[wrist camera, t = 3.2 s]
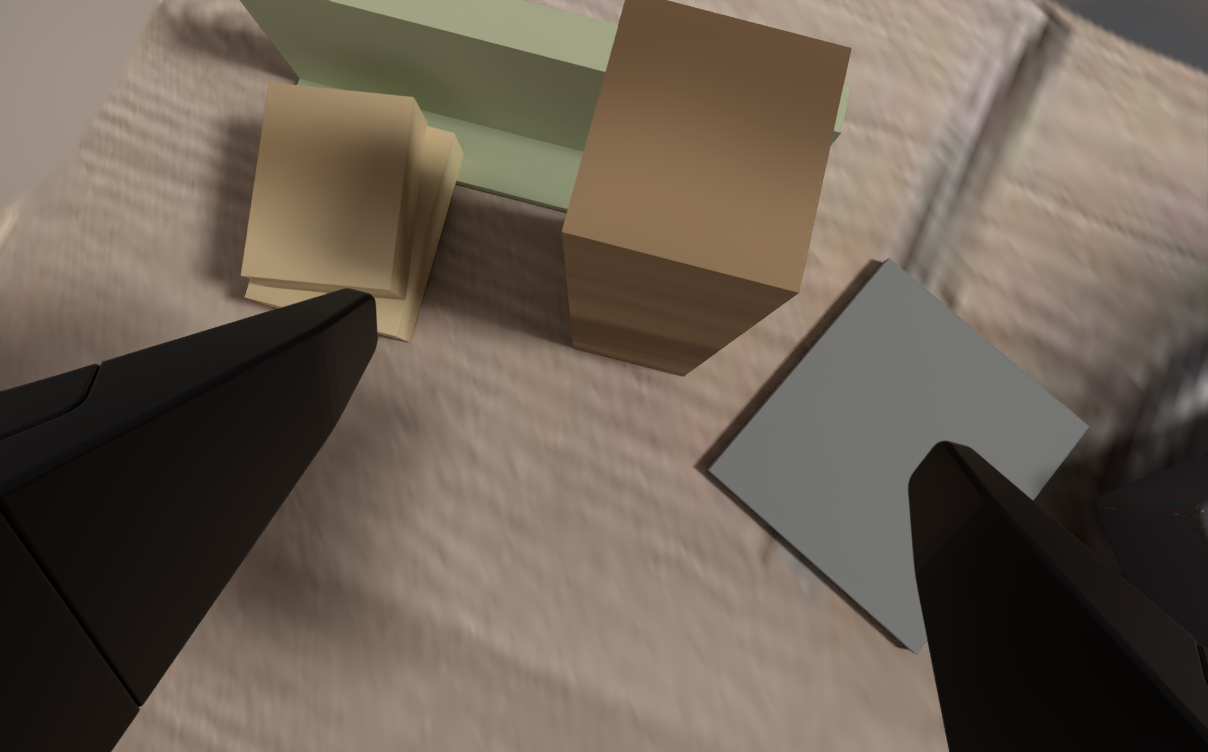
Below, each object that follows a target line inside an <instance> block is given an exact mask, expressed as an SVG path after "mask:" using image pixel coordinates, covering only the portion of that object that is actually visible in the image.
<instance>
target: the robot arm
mask: <svg viewBox="0 0 1208 752" xmlns="http://www.w3.org/2000/svg"><path fill="white" fill-rule="evenodd" d="M377 340H378V333H377V313H376V301H375V298H374V297H373V296H372V295H371V294H370V293H366V292H363V291H359V290H355V289H351V288H344V289H340V290H337V291H334V292H331V293H327V294H324V295H321V296H317V297H314V298H311V299H307V300H304V301H301V302H298V303H294V304H291V305H288V306H284V307H281V308H278V309H274V310H271V311H268V312H265V313H261V314H258V315H255V316H251V317H248V318H245V319H241V320H238V321H235V322H232V323H228V324H225V325H222V326H218V327H215V328H212V329H208V330H205V331H202V332H199V333H195V334H192V335H189V336H185V337H182V338H179V339H175V340H172V341H169V342H166V343H162V344H159V345H156V346H152V347H149V348H146V349H142V350H139V351H136V352H133V353H129V354H126V355H123V356H119V357H116V358H113V359H109V360H106V361H103V362H102V363H101V365H100V366H99V365H98V364H92V365H89V366H86V367H83V368H79V369H76V370H73V371H70V372H67V373H63V374H60V375H56V376H53V377H49V378H46V379H42V380H39V381H35V382H32V383H29V384H25V385H22V386H18V387H15V388H11V389H7V390H4V391H0V752H111V751H112V750H113V749H114V747H115V746H116V744H117V743H118V741H119V740H120V738H121V737H122V736H123V734H124V733H125V731H126V730H127V728H128V727H129V725H130V724H131V723H132V721H133V720H134V718H135V717H136V715H137V714H138V712H139V711H140V708H139V707H140V706H142V705H143V704H144V703H145V702H146V700H147V699H148V697H149V696H150V694H151V693H152V691H153V690H154V689H155V687H156V686H157V684H158V683H159V681H160V680H161V678H162V677H163V676H164V674H165V673H166V671H167V670H168V668H169V667H170V665H171V664H172V663H173V661H174V660H175V658H176V657H177V655H178V654H179V652H180V651H181V650H182V648H183V647H184V645H185V644H186V642H187V641H188V639H189V638H190V637H191V635H192V634H193V632H194V631H195V629H196V628H197V626H198V625H199V624H200V622H201V621H202V619H203V618H204V616H205V615H206V613H207V612H208V610H209V609H210V608H211V606H212V605H213V603H214V602H215V600H216V599H217V597H218V596H219V595H220V593H221V592H222V590H223V589H224V587H225V586H226V584H227V583H228V582H229V580H230V579H231V577H232V576H233V574H234V573H235V571H236V570H237V569H238V567H239V566H240V564H241V563H242V561H243V560H244V558H245V557H246V556H247V554H248V553H249V551H250V550H251V548H252V547H253V545H254V544H255V543H256V541H257V540H258V538H259V537H260V535H261V534H262V532H263V531H264V530H265V528H266V527H267V525H268V524H269V522H270V521H271V519H272V518H273V517H274V515H275V514H276V512H277V511H278V509H279V508H280V506H281V505H282V504H283V502H284V501H285V499H286V498H287V496H288V495H289V493H290V492H291V491H292V489H293V488H294V486H295V485H296V483H297V482H298V480H299V479H300V478H301V476H302V475H303V473H304V472H305V470H306V469H307V467H308V466H309V465H310V463H311V462H312V460H313V459H314V457H315V456H316V454H317V453H318V451H319V450H320V449H321V447H322V446H323V444H324V443H325V441H326V440H327V438H328V437H329V435H330V434H331V432H332V431H333V429H334V428H335V426H336V424H337V422H338V421H339V419H340V417H341V415H342V413H343V411H344V409H345V408H346V406H347V404H348V402H349V400H350V398H351V396H352V394H353V392H354V390H355V388H356V386H357V385H358V383H359V381H360V379H361V377H362V375H363V373H364V371H365V369H366V367H367V365H368V364H369V362H370V360H371V358H372V356H373V354H374V352H375V349H376V346H377ZM908 498H909V511H910V524H911V537H912V550H913V562H914V571H915V578H916V584H917V590H918V595H919V600H920V606H921V611H922V616H923V621H924V626H925V631H926V636H927V641H928V646H929V652H930V657H931V662H932V667H933V672H934V677H935V682H936V687H937V692H938V698H939V703H940V708H941V713H942V718H943V723H944V728H945V733H946V738H947V743H948V749H949V752H1208V649H1206V648H1205V647H1204V646H1203V645H1201V644H1197V643H1196V640H1195V639H1194V638H1193V637H1192V636H1191V635H1190V634H1189V633H1188V632H1186V631H1185V630H1184V629H1183V628H1182V627H1181V626H1179V625H1178V624H1177V623H1176V622H1175V621H1173V620H1172V619H1171V618H1170V617H1169V616H1168V615H1166V614H1165V613H1164V612H1163V611H1162V610H1161V609H1159V608H1158V607H1157V606H1156V605H1155V604H1154V603H1152V602H1151V601H1150V600H1149V599H1148V598H1147V597H1145V596H1144V595H1143V594H1142V593H1141V592H1140V591H1138V590H1137V589H1136V588H1135V587H1134V586H1133V585H1131V584H1130V583H1129V582H1128V581H1127V580H1126V579H1124V578H1123V577H1122V576H1121V575H1120V574H1119V573H1117V572H1116V571H1115V570H1114V569H1113V568H1112V567H1110V566H1109V565H1108V564H1107V563H1106V562H1104V561H1103V560H1102V559H1101V558H1100V557H1099V556H1097V555H1096V554H1095V553H1094V552H1093V551H1092V550H1090V549H1089V548H1088V547H1087V546H1086V545H1085V544H1083V543H1082V542H1081V541H1080V540H1079V539H1078V538H1076V537H1075V536H1074V535H1073V534H1072V533H1071V532H1069V531H1068V530H1067V529H1066V528H1065V527H1064V526H1062V525H1061V524H1060V523H1059V522H1058V521H1057V520H1055V519H1054V518H1053V517H1052V516H1051V515H1050V514H1048V513H1047V512H1046V511H1045V510H1044V509H1043V508H1041V507H1040V506H1039V505H1038V504H1037V503H1035V502H1034V501H1033V500H1032V499H1031V498H1030V497H1028V496H1027V495H1026V494H1025V493H1024V492H1023V491H1021V490H1020V489H1019V488H1018V487H1017V486H1016V485H1014V484H1013V483H1012V482H1011V481H1010V480H1009V479H1007V478H1006V477H1005V476H1004V475H1003V474H1002V473H1000V472H999V471H998V470H997V469H996V468H995V467H993V466H992V465H991V464H990V463H989V462H988V461H986V460H985V459H984V458H983V457H982V456H981V455H979V454H978V453H977V452H976V451H975V450H974V449H972V448H971V447H969V446H967V445H963V444H959V443H955V442H951V441H947V440H944V441H940V442H938V443H936V444H935V445H934V446H933V447H932V449H931V450H930V451H929V453H928V454H927V455H926V456H925V458H924V459H923V460H922V461H921V463H920V464H919V465H918V466H917V468H916V469H915V470H914V472H913V473H912V475H911V477H910V479H909V482H908Z"/></svg>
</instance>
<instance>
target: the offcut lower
mask: <svg viewBox="0 0 1208 752" xmlns="http://www.w3.org/2000/svg"><path fill="white" fill-rule="evenodd" d="M463 156H464V153H463V150H462V148H461V146H460V144H459V142H458V140H457V138H456V136H455V133H453V132H449V131H445V130H441V129H437V128H433V127H429V126H427V129H426V137H425V146H424V154H423V162H422V170H421V179H420V187H419V195H418V203H417V211H416V220H415V228H414V236H413V244H412V253H411V261H410V269H409V277H408V285H407V294H406V300H396V299H386V298H375V297H374V298H375V301H376V313H377V333H378V334H379V335H383V336H387V337H391V338H395V339H399V340H403V341H406V342H410V341H411V338H412V334H413V331H414V327H415V324H416V320H417V317H418V313H419V310H420V306H421V303H422V299H423V296H424V292H425V289H426V285H427V282H428V278H429V275H430V271H431V268H432V264H433V261H434V257H435V254H436V250H437V247H438V243H439V240H440V236H441V233H442V229H443V226H444V222H445V219H446V215H447V212H448V208H449V205H450V201H451V198H452V194H453V191H454V187H455V184H456V180H457V177H458V173H459V170H460V166H461V163H462V159H463ZM324 294H327V293H323V292H313V291H303V290H292V289H282V288H272V287H267V286H265V285H262V284H260V283H257V282H255V281H252V280H250V281H249V285H248V288H247V291H246V294H245V298H248V299H251V300H253V301H256V302H259V303H262V304H265V305H267V306H270V307H274V308H281V307H284V306H288V305H291V304H294V303H298V302H301V301H304V300H307V299H311V298H314V297H317V296H321V295H324Z"/></svg>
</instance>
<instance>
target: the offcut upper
mask: <svg viewBox="0 0 1208 752" xmlns="http://www.w3.org/2000/svg"><path fill="white" fill-rule="evenodd" d="M426 129H427V121H426V119H425V117H424V115H423V113H422V111H421V110H420V108H419V106H418V104H417V102H416V100H415V99H414V97H408V96H398V95H388V94H378V93H369V92H359V91H349V90H339V89H330V88H320V87H310V86H300V85H291V84H281V83H271V82H269V84H268V91H267V98H266V105H265V111H264V118H263V125H262V132H261V139H260V146H259V153H258V160H257V167H256V174H255V181H254V188H253V194H252V201H251V208H250V215H249V222H248V229H247V236H246V243H245V250H244V257H243V264H242V271H241V276H243V277H245V278H248V279H250V280H252V281H255V282H257V283H260V284H262V285H265V286H267V287H272V288H282V289H292V290H303V291H313V292H323V293H331V292H334V291H337V290H340V289H344V288H351V289H355V290H359V291H363V292H366V293H370V294H371V295H372V296H373V297H375V298H386V299H396V300H406V294H407V285H408V277H409V269H410V261H411V253H412V244H413V236H414V228H415V220H416V211H417V203H418V195H419V187H420V179H421V170H422V162H423V154H424V146H425V137H426Z"/></svg>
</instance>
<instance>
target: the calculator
mask: <svg viewBox="0 0 1208 752" xmlns="http://www.w3.org/2000/svg"><path fill="white" fill-rule="evenodd" d="M1096 510H1097V513H1098V515H1099V518H1100V520H1101V522H1102V524H1103V527H1104V529H1105V531H1106V533H1107V536H1108V538H1109V540H1110V542H1111V544H1112V547H1113V549H1114V551H1115V553H1116V556H1117V558H1118V560H1119V562H1120V564H1121V567H1122V569H1123V571H1124V573H1125V575H1126V578H1127V580H1128V582H1129V583H1130V584H1131V585H1133V586H1134V587H1135V588H1136V589H1137V590H1138V591H1140V592H1141V593H1142V594H1143V595H1144V596H1145V597H1147V598H1148V599H1149V600H1150V601H1151V602H1152V603H1154V604H1155V605H1156V606H1157V607H1158V608H1159V609H1161V610H1162V611H1163V612H1164V613H1165V614H1166V615H1168V616H1169V617H1170V618H1171V619H1172V620H1173V621H1175V622H1176V623H1177V624H1178V625H1179V626H1181V627H1182V628H1183V629H1184V630H1185V631H1186V632H1188V633H1189V634H1190V635H1191V636H1192V637H1193V638H1194V639H1195V640H1196V643H1197V644H1201V645H1203V646H1204V647H1205V648H1206V649H1208V455H1205V456H1200V457H1196V458H1192V459H1190V460H1187V461H1184V462H1182V463H1179V464H1177V465H1174V466H1172V467H1169V468H1167V469H1164V470H1162V471H1160V472H1157V473H1155V474H1152V475H1150V476H1147V477H1145V478H1142V479H1140V480H1137V481H1135V482H1132V483H1130V484H1127V485H1125V486H1122V487H1120V488H1117V489H1115V490H1112V491H1110V492H1108V493H1105V494H1103V495H1101V496H1100V497H1099V498H1098V500H1097V502H1096Z"/></svg>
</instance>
